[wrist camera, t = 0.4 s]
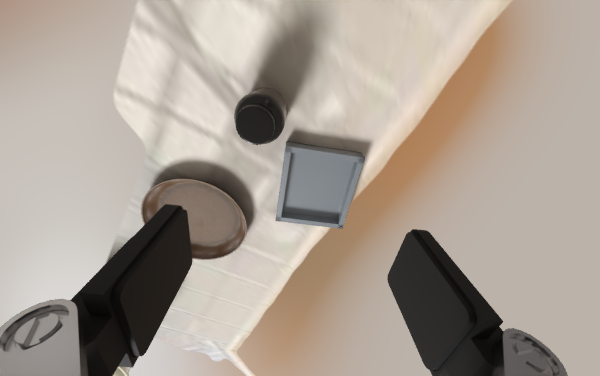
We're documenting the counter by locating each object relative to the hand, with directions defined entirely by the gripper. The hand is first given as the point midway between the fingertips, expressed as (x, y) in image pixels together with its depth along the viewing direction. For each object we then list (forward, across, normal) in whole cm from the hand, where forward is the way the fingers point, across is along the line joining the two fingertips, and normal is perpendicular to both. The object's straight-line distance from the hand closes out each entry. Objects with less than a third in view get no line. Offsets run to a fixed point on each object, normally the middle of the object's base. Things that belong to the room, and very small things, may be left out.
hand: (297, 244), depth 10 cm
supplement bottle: (+32, +5, 0) cm, 33 cm away
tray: (+32, -6, +13) cm, 35 cm away
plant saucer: (+33, +17, +24) cm, 44 cm away
